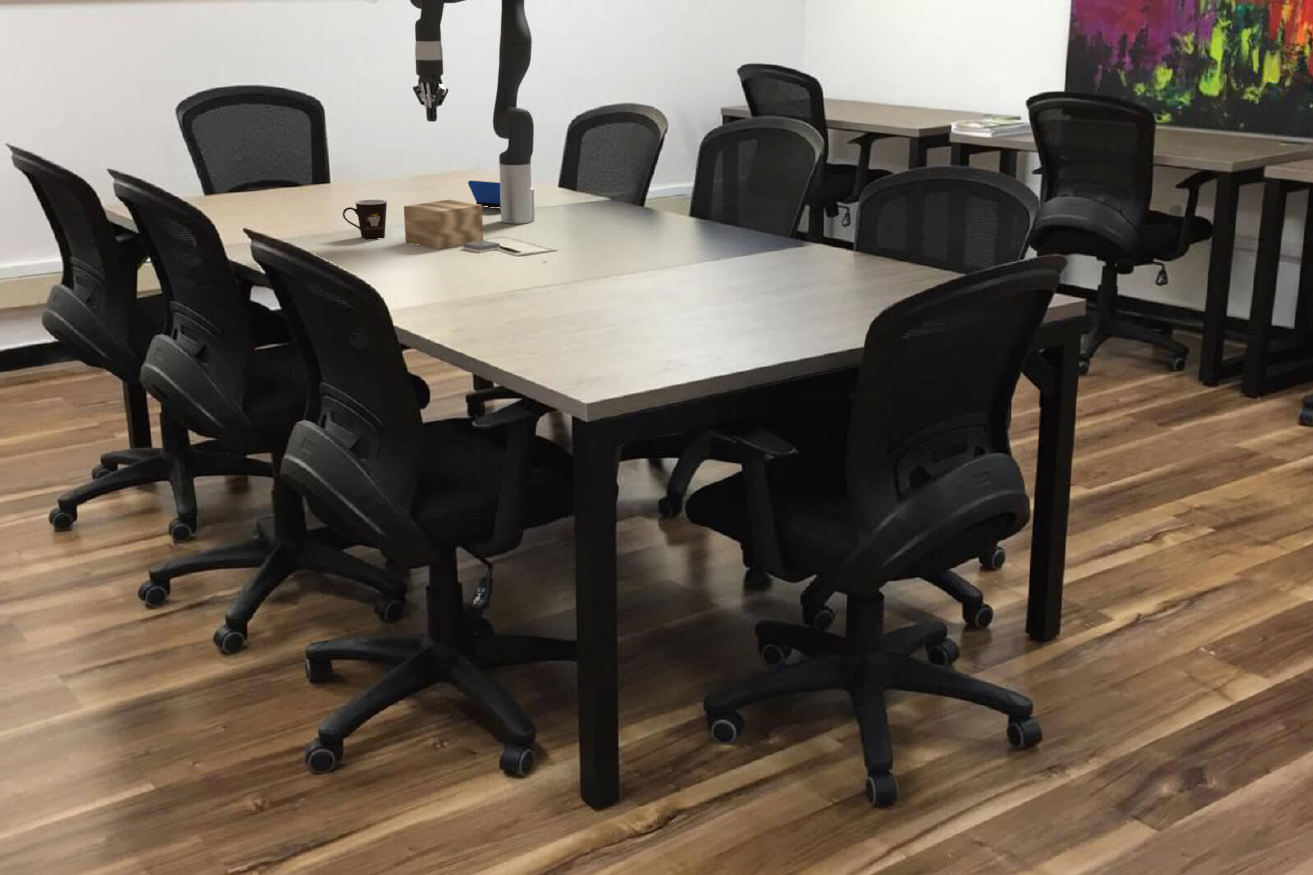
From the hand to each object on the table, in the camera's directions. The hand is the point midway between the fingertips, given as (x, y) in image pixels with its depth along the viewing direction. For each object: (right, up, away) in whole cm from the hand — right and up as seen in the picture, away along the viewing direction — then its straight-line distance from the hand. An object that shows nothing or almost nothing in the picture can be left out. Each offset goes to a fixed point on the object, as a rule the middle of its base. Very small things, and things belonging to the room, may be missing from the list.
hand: (431, 121), depth 418 cm
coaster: (+16, -37, -17) cm, 44 cm away
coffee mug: (-18, -33, -1) cm, 38 cm away
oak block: (+5, -35, -7) cm, 36 cm away
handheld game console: (+14, -17, +49) cm, 54 cm away
